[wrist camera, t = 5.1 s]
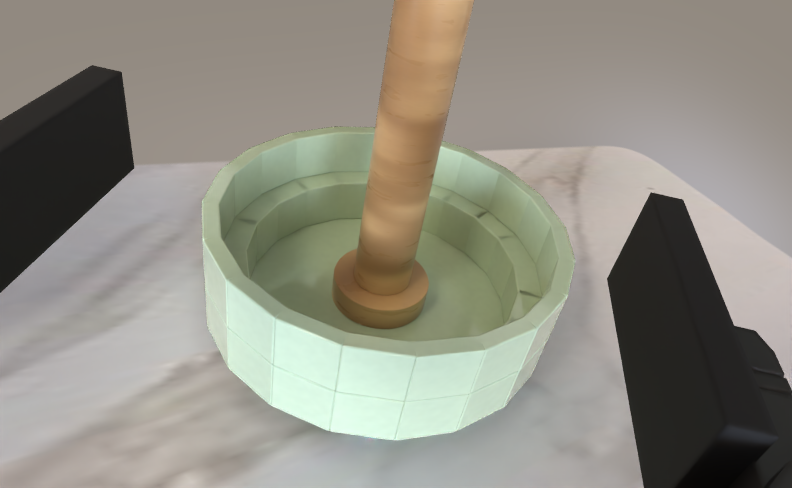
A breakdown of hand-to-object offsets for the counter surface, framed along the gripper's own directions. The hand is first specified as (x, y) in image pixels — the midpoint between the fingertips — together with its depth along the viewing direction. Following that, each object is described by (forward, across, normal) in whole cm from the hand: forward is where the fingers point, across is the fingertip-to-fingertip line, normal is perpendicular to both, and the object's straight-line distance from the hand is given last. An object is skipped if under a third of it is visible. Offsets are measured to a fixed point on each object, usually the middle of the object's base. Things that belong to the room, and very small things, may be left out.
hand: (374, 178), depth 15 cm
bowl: (+8, 0, -12) cm, 14 cm away
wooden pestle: (+8, 0, -11) cm, 14 cm away
